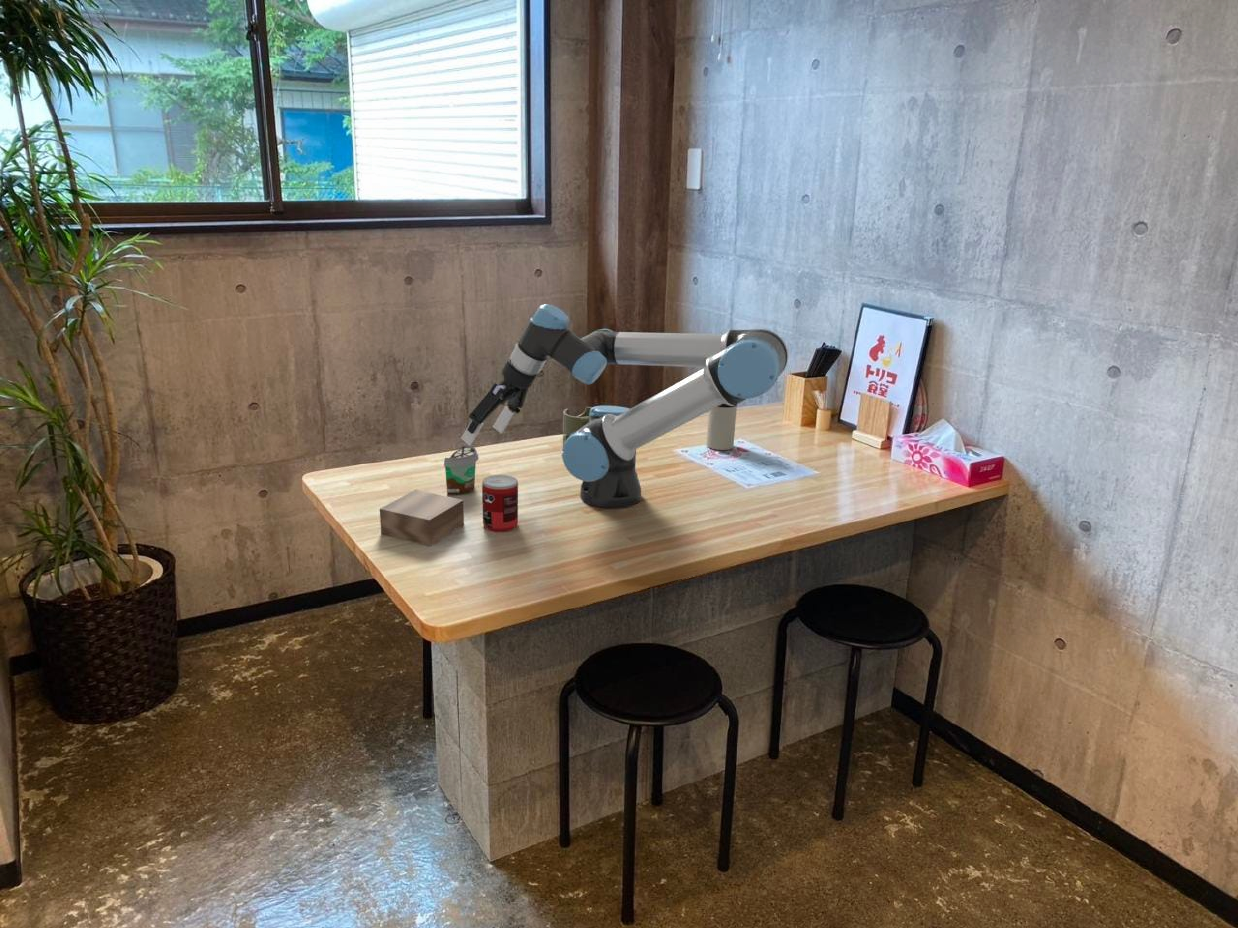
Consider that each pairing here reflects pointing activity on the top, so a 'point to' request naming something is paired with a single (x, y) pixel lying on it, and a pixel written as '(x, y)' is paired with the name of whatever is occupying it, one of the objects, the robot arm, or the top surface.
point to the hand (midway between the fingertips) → (482, 435)
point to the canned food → (500, 502)
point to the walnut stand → (422, 517)
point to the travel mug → (721, 427)
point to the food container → (461, 470)
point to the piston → (574, 422)
